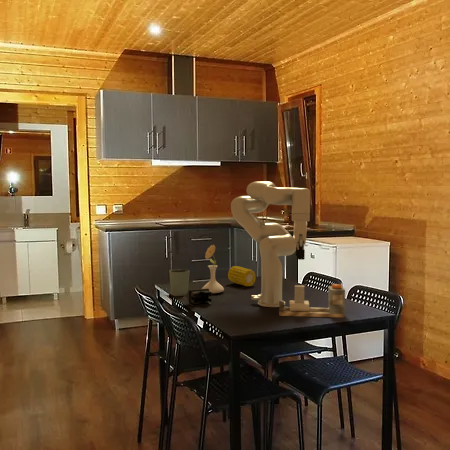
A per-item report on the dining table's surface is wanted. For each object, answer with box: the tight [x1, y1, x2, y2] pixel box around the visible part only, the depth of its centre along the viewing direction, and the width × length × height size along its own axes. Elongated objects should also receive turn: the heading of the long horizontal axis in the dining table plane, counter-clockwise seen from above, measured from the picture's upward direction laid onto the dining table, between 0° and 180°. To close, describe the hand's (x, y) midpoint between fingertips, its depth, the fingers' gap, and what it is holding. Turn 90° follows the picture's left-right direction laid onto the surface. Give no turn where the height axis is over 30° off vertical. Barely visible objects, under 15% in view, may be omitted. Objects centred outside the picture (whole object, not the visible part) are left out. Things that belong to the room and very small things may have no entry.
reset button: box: [331, 283, 343, 289], centre depth 217 cm, size 4×4×1 cm
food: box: [227, 265, 257, 288], centre depth 283 cm, size 15×12×10 cm
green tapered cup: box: [168, 268, 191, 297], centre depth 258 cm, size 10×10×12 cm
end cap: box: [186, 288, 213, 307], centre depth 237 cm, size 10×7×7 cm
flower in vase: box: [201, 244, 225, 294], centre depth 261 cm, size 13×11×25 cm
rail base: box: [278, 285, 346, 318], centre depth 218 cm, size 27×8×12 cm, turn 84°
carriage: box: [289, 284, 310, 311], centre depth 219 cm, size 8×7×10 cm
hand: (300, 257), depth 218 cm, fingers open, 9 cm apart
